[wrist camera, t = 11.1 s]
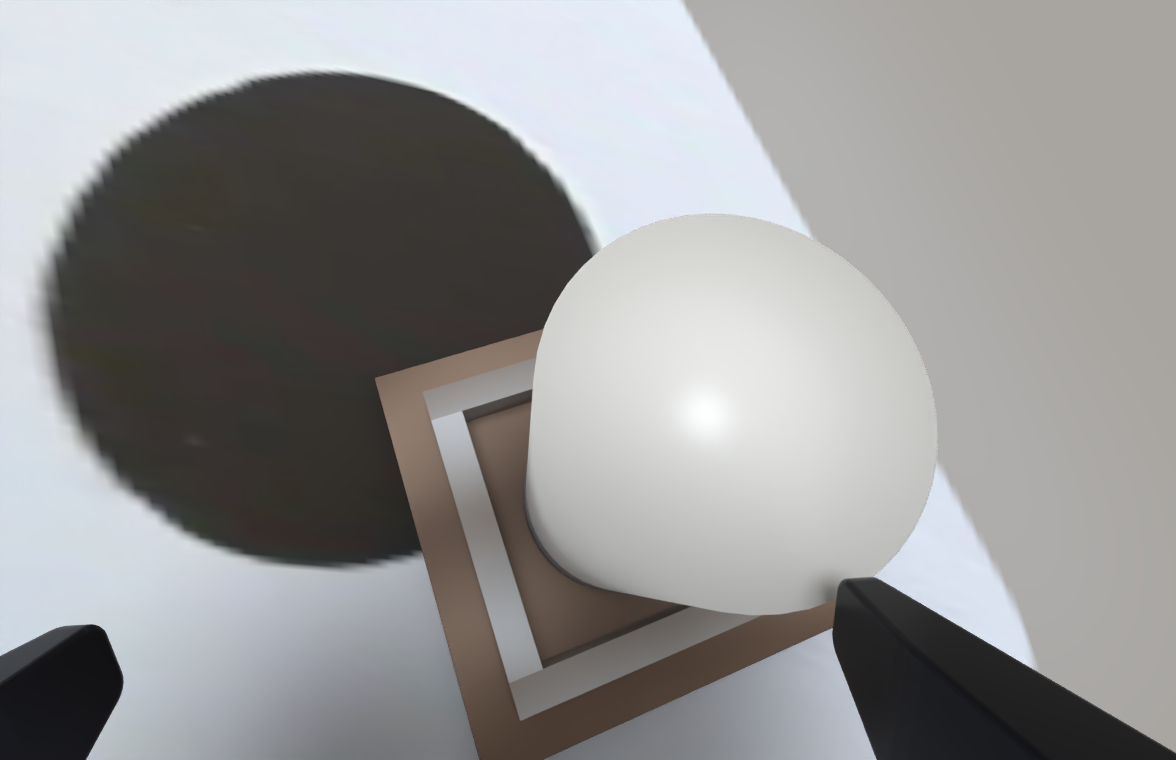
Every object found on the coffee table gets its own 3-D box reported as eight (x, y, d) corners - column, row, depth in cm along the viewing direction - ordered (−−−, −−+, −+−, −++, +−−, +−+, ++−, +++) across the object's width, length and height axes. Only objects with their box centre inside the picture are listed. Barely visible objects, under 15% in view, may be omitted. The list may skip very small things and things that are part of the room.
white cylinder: (728, 551, 20) (1017, 523, 8) (558, 620, 18) (622, 698, 7) (661, 387, 21) (825, 175, 10) (499, 440, 20) (474, 266, 9)
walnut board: (846, 612, 20) (889, 617, 18) (488, 773, 18) (483, 805, 15) (700, 292, 24) (720, 261, 21) (381, 387, 21) (364, 363, 19)
